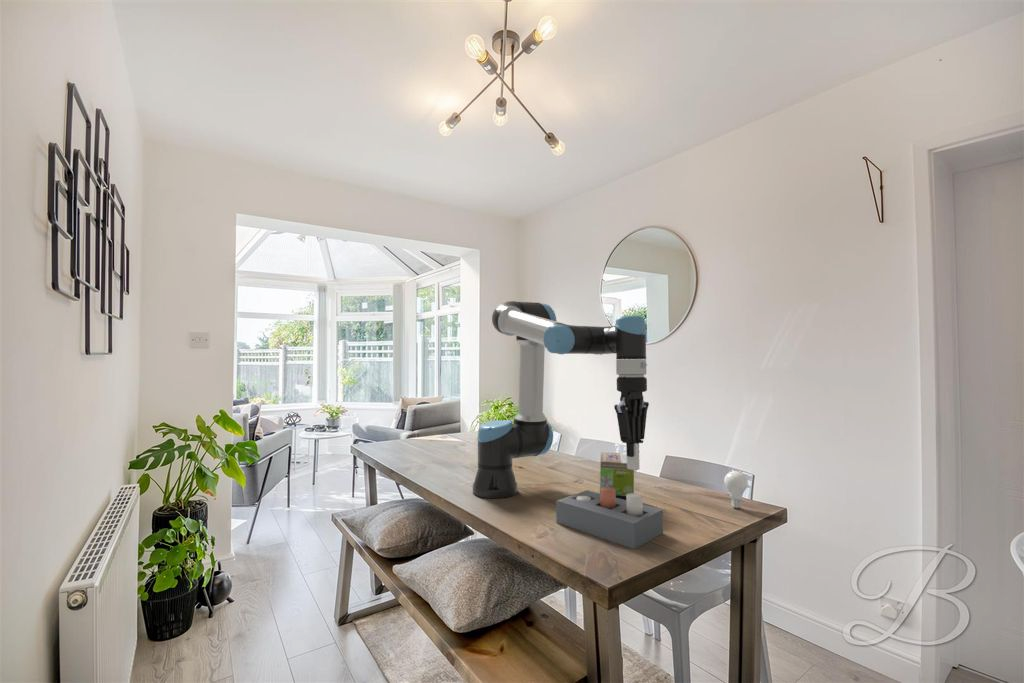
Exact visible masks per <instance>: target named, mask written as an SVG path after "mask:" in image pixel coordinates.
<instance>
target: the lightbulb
mask: <svg viewBox="0 0 1024 683" xmlns="http://www.w3.org/2000/svg"><path fill="white" fill-rule="evenodd" d="M724 485H725V487H726V489H727V491H728V492H729V497H730V499H731V500H730V502H731V507H732V508H734V509H735V510H736V509H740V508H742V498H743V495H744V493H745V491H746V490H747V488H748V485H749V481H748V478H747V477H746V475H745V474H744V473H742V472H741V471H737V470H732V471H731V470H730V471H729V472H727V474H725V476H724Z"/></svg>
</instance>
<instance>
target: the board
mask: <svg viewBox="0 0 1024 683" xmlns="http://www.w3.org/2000/svg"><path fill="white" fill-rule="evenodd" d="M577 496H588V497H590V498H591V500H590V501H588V502H583V501H579V500H576V497H577ZM555 505H556V506H555V507H556V508H555V510H556V521H555V522H556V523H557V524H559V525H563V526H566V527H568V528H571V529H573V530H577V531H580V532H583V533H585V534H589V535H591V536H595V537H598V538H600V539H603V540H606V541H608V542H611V543H615V544H617V545H621V546H624V547H626V548H630V549H632V550H635V549H637V548H638V547H641V546H642V545H644V544H646V543H648V542H650V541H652V540H653V539H655V538H657V537H659V536H661V535H662V534H664V515H663V514H664V512H663V508H657V507H653V506H650V505H646V504H643V515H642V516H640V517H636V516H632V515H629V514H627V513H626V500H623V499H619V498H616V507H615V508H613V509H607V508H604V507H600V492H595V491H593V490H587V489H586V490H584V491H581V492H577V493H575V494H572V495H569V496H566V497H563V498H560V499H558V500H556V504H555Z"/></svg>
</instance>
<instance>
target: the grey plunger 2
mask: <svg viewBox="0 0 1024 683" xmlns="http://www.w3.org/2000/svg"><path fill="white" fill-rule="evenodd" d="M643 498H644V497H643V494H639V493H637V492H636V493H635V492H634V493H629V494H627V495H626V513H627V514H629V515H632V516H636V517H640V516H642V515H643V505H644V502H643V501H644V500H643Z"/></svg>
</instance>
